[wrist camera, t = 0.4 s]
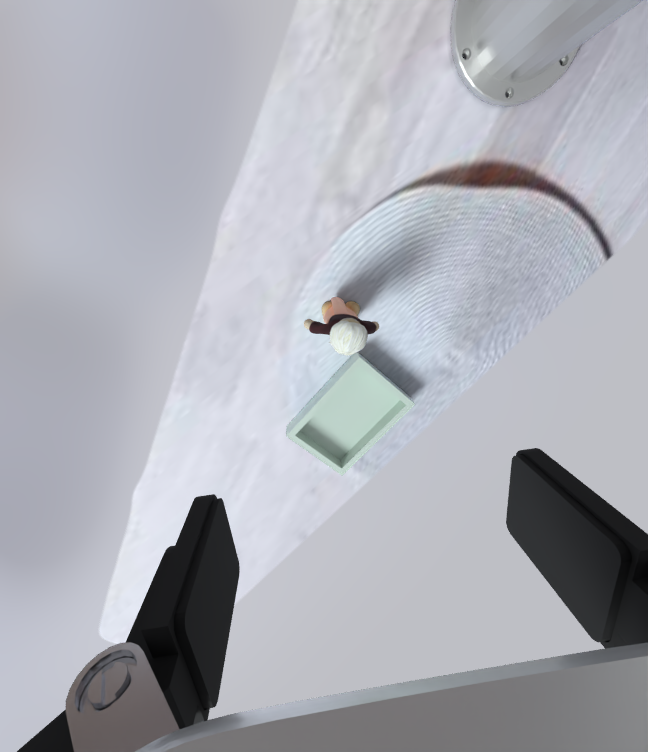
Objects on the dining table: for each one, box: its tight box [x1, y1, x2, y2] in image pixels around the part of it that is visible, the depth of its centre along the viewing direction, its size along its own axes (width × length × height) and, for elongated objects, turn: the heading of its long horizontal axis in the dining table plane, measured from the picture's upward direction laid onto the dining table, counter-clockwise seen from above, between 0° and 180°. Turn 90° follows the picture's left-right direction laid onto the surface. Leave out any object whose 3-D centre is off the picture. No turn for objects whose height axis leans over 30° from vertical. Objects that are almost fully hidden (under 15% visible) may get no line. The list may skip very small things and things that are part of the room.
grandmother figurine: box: [304, 297, 379, 355], centre depth 35 cm, size 8×4×13 cm, turn 98°
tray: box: [286, 352, 415, 475], centre depth 44 cm, size 14×10×3 cm
